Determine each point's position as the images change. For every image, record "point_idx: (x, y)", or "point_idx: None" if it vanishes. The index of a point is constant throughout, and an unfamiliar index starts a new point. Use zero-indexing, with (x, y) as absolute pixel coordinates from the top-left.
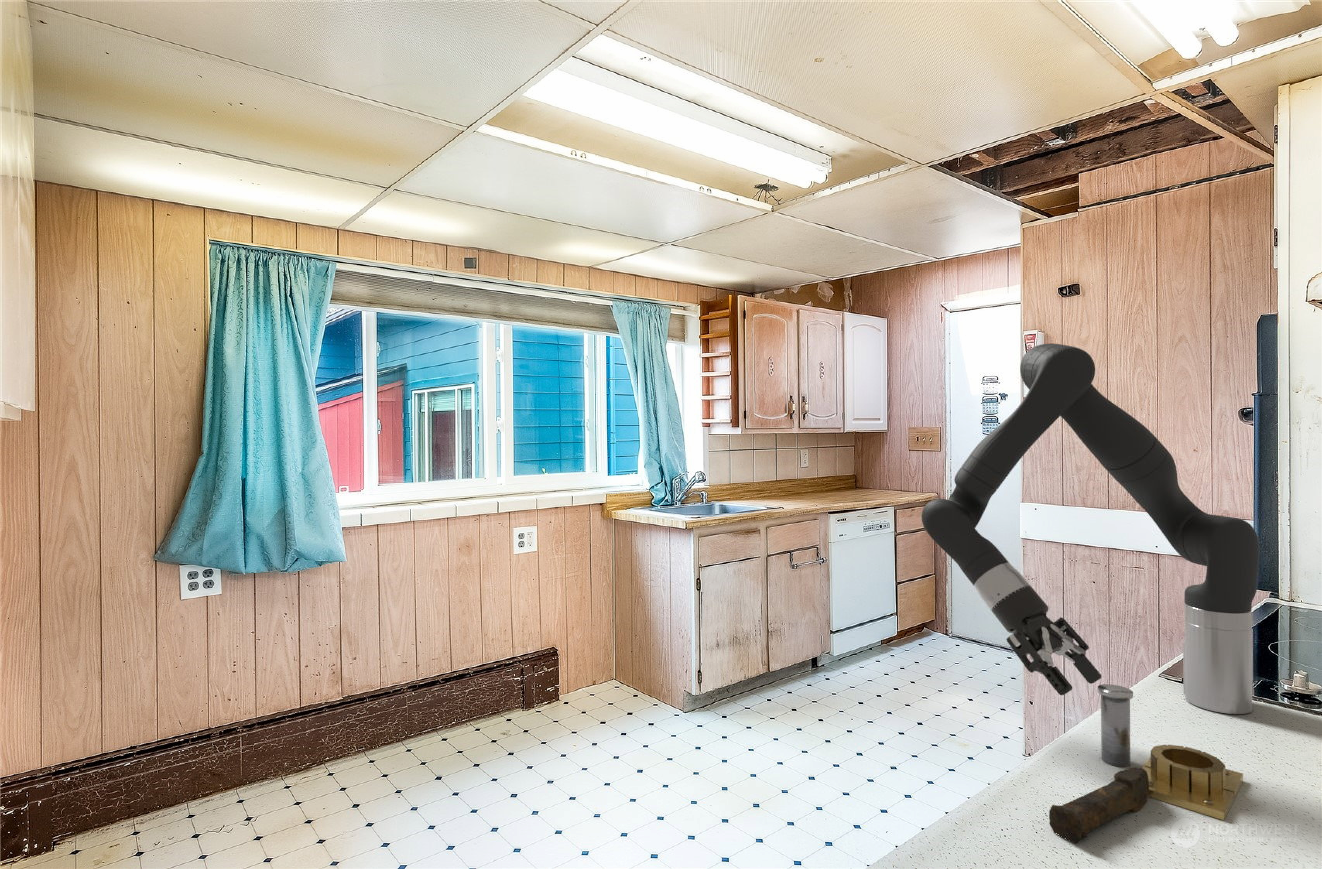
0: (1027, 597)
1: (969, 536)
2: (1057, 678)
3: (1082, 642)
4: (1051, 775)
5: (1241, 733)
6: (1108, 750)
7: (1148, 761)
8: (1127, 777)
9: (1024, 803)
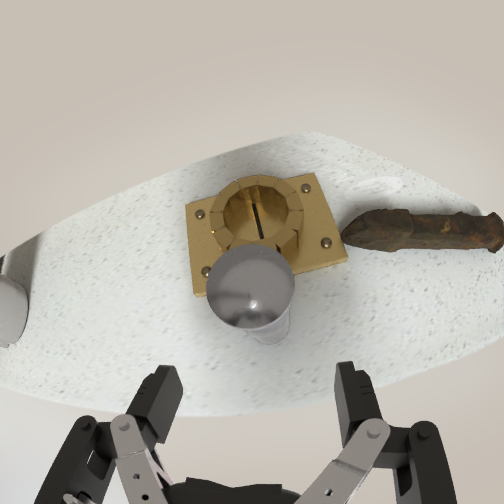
0: None
1: None
2: (368, 394)
3: (80, 435)
4: (404, 343)
5: (61, 268)
6: (289, 319)
7: None
8: (405, 216)
9: (483, 305)
